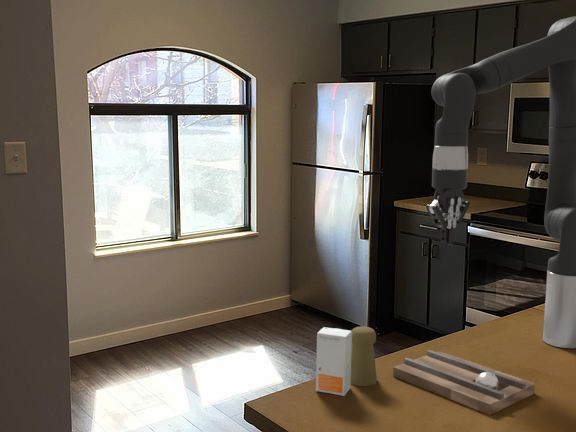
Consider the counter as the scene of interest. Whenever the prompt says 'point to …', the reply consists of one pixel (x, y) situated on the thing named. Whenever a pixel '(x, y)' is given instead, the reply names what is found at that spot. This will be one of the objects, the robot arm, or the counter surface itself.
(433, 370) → the walnut channel
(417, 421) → the counter surface
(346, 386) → the skincare box
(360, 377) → the olive knob stopper
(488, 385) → the steel ball
